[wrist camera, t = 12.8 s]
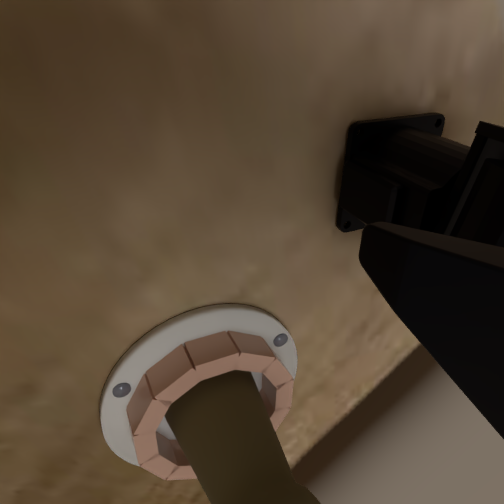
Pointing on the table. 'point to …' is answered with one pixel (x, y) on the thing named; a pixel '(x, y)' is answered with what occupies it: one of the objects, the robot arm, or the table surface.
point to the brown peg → (233, 443)
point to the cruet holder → (191, 378)
